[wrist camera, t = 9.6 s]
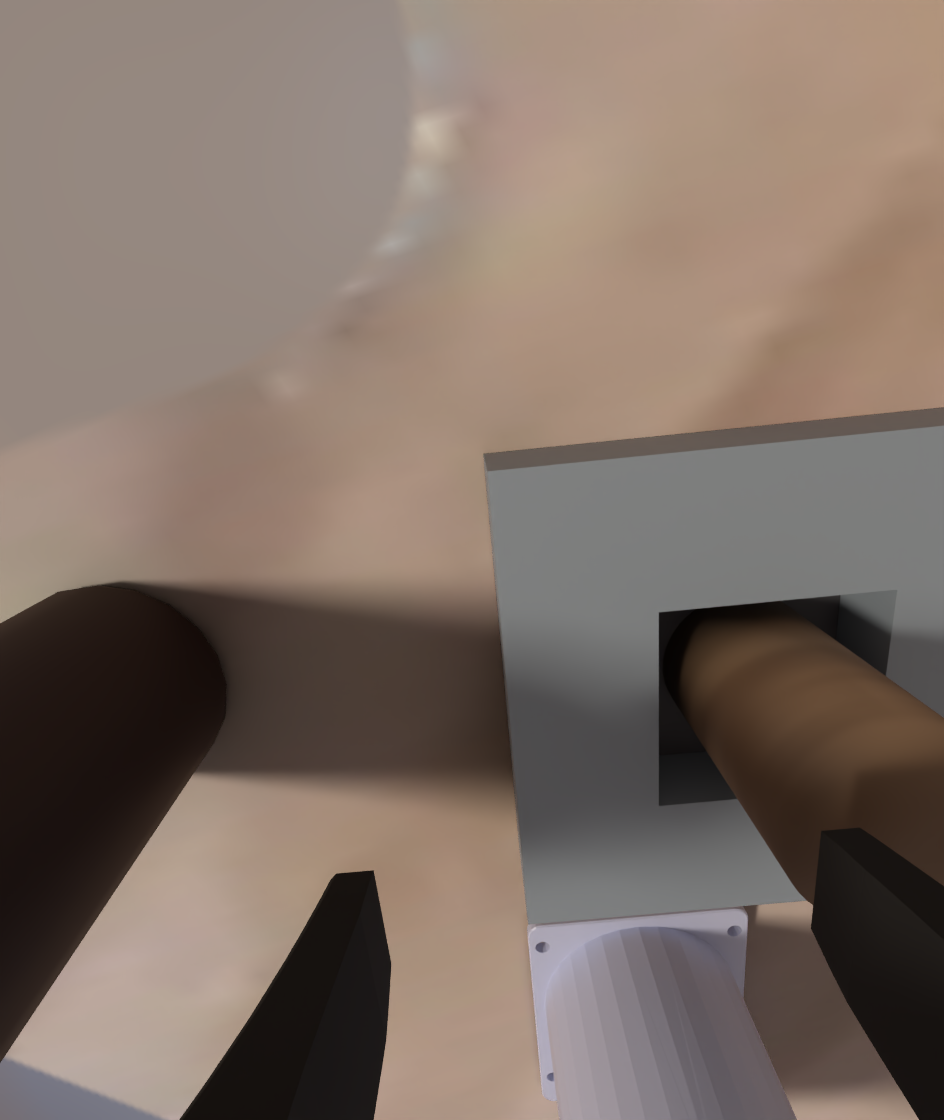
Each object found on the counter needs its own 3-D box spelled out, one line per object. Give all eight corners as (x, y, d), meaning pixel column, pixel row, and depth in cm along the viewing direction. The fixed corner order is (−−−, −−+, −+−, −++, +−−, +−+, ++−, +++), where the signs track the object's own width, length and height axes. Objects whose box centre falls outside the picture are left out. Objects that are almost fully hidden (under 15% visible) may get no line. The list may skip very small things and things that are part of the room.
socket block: (917, 813, 21) (989, 884, 18) (519, 849, 21) (528, 924, 18) (984, 403, 16) (1094, 410, 14) (483, 454, 17) (487, 471, 14)
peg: (799, 719, 19) (990, 914, 12) (660, 727, 19) (771, 927, 12) (817, 588, 17) (1041, 725, 11) (666, 596, 17) (796, 740, 11)
